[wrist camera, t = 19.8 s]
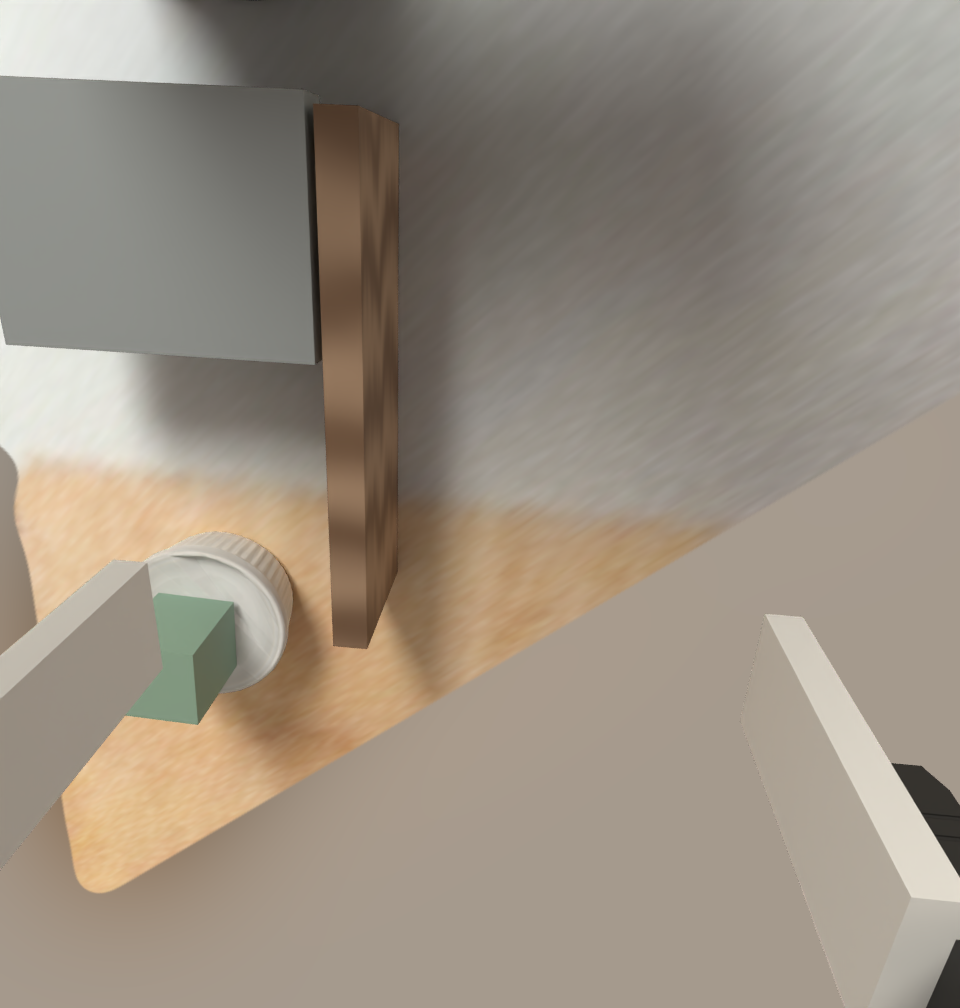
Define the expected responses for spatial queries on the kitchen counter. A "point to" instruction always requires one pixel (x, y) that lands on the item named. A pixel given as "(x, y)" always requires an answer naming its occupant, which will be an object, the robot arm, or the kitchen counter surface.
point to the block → (189, 658)
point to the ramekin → (232, 594)
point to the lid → (159, 219)
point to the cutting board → (359, 357)
